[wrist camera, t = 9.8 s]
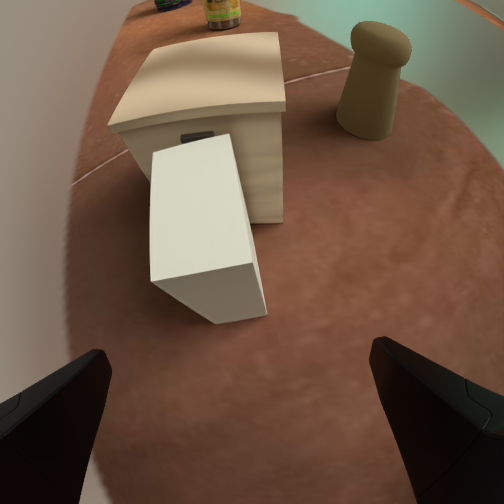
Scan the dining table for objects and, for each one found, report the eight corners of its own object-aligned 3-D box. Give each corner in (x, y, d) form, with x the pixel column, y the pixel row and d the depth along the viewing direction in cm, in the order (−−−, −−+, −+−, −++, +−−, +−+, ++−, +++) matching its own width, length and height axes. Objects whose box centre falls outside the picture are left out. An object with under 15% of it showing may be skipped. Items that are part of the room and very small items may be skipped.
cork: (393, 113, 24) (417, 29, 14) (389, 148, 23) (422, 51, 12) (341, 96, 26) (351, 9, 16) (330, 128, 24) (341, 26, 14)
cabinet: (285, 226, 20) (285, 102, 10) (176, 229, 21) (106, 127, 11) (282, 143, 24) (277, 31, 13) (191, 149, 24) (153, 49, 14)
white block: (267, 315, 18) (252, 262, 9) (204, 326, 18) (130, 285, 9) (252, 234, 20) (229, 133, 11) (195, 246, 21) (137, 157, 11)
